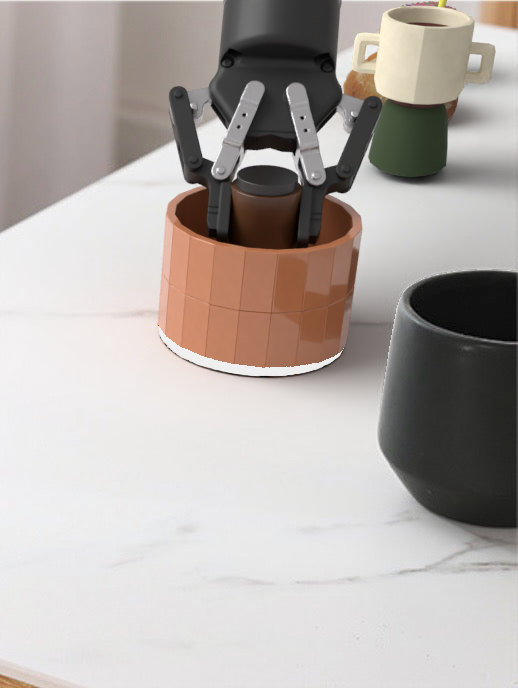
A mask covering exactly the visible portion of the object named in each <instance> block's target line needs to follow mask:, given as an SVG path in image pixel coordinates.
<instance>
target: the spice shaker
mask: <svg viewBox="0 0 518 688" xmlns="http://www.w3.org/2000/svg"><path fill="white" fill-rule="evenodd" d="M232 182H233V183H232V186H231V189H232V195H231V206H230V217H229V229H228V240H227V244H232V245H237V246H242V247H248V248H259V249H274V250H281V249H295V248H296V237H297V227H298V218H299V209H300V200H301V192H302V189H301V187H302V186H301V182H299V174H298V173H297V172H295V171H294V170H293V169H291V168H287V167H283V166H280V165H271V164H255V165H248V166H245V167H242V168H241V169H238V170H237V172H236V178H235V179H233V181H232Z"/></svg>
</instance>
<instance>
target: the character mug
mask: <svg viewBox="0 0 518 688" xmlns="http://www.w3.org/2000/svg"><path fill="white" fill-rule="evenodd" d="M457 10H458V9H456V10H454V9H449V8H443V7H435V6H406V5H404V7H401V6H398V7H392V8H388V9H387V10H386V11H384V12H383V13H382V17H381V22H380V23H381V24H380V26H381V29H380V28H379V29H380V34H379V33H375V32H374V33H373V32H364V31H363V32H359V33H357V34H356V36H355V38H354V42H353V51H352V57H351V68H352V69H353V70H354V71H356V72H358V73H369V74H374V81H375V86H376V91H377V92H378V93H379V94H381V95H382V96H384V97H386V98H389V99H388V100H386V102H385V103H384V105H383V106H382V110H381V114H380V117H379V121H378V124H377V127H376V129H375V132H374V134H373V137H372V139H371V142H370V146H369V152H368V156H367V158H368V161H369V163H370V164H371V165H372V166H374V167H375V168H376V169H378V170H380V171H382V172H385V173H387V174H390V175H392V176H396V177H397V176H399V177H405V178H407V177H408V178H417V177H426V176H430V175H433V174H436V173H438V172H441V171H443V169H445V168H446V167H447V164H448V163H447V161H448V144H449V143H448V142H449V141H448V138H449V137H448V136H449V133H448V131H449V120H448V113H447V110H446V107H445V105H444V103H446V102H449V101H452V100H456V99H457V97H458V98H459V96H460V94H461V93H462V92H463V90H464V88H465V85H466V84H475V85H485V84H489V82H490V81H491V79H492V74H493V70H494V64H495V58H496V46H495V45H494V44H491V43H489V42H477V41H473V37H474V32H475V22H476V20H475V19H474V17H473V16H472V15H470V14H468V13H466V12H464V11H461V10H458V11H457ZM367 46H376V47H377V51H376V52H377V59H376V62H366V61H365V60H366V59H365V58H366V50H367ZM470 55H478V56H481V58H480V60H481V61H480V65H479V71H472V70H468V67H469V61H470ZM352 69H351V70H352Z"/></svg>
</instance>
